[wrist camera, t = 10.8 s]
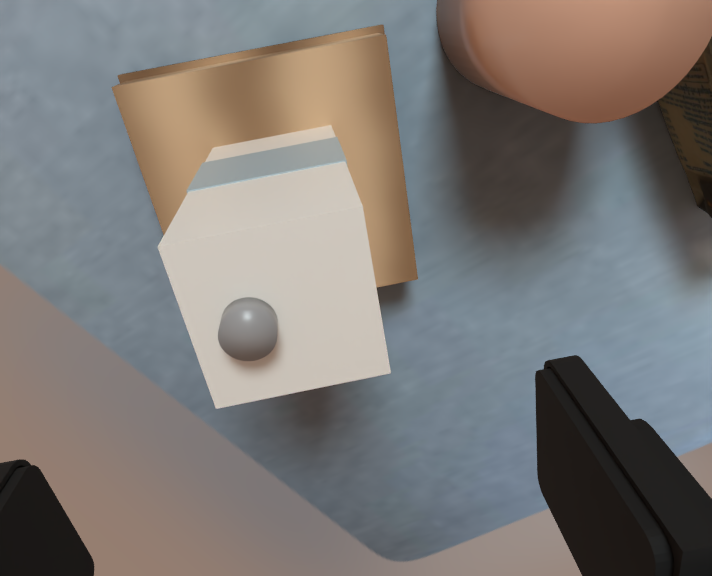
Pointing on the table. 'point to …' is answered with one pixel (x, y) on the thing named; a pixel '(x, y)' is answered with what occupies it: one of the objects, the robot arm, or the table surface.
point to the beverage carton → (693, 126)
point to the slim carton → (276, 269)
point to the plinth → (279, 124)
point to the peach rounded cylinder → (576, 51)
